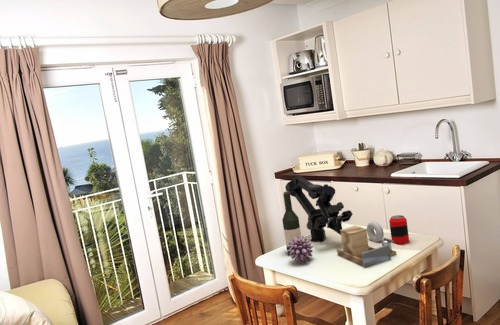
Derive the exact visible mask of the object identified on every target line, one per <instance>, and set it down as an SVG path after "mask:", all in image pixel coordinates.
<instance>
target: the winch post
mask: <svg viewBox="0 0 500 325" xmlns="http://www.w3.org/2000/svg"><path fill="white" fill-rule="evenodd" d="M392 242H393V240H392V239H391V238H387V237H383V239H382V240H381V247H382V246H385V245H389V247H390V255H391V258H392V257H395V256H397V250H396V251H395V250H394V249H393V248H392V244H393V243H392Z"/></svg>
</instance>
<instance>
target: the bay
mask: <svg viewBox="0 0 500 325" xmlns="http://www.w3.org/2000/svg"><path fill="white" fill-rule="evenodd" d="M368 246H369V251H366V252H363V253H362V256H361V257H356V256H354V255H351V254H349V253H347V252H344V251H343V249H340V248H339V249H336V253H337V256H338V257H340V258H342V259H345V260H346V261H349V262H351V263H353V264H355V265H357V266H360V267H362V268H364V269H366V268H369V267H373V266H376V265H378V264H379V265H380V264H382V263H384V262H387V261H391V260H392V257H391V255H390V247H389V245H385V246H382V245H381V246H380V247H379V246H378V247H373V246H370V245H368Z"/></svg>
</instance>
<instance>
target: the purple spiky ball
mask: <svg viewBox="0 0 500 325" xmlns="http://www.w3.org/2000/svg"><path fill="white" fill-rule="evenodd" d="M309 242H310V243H309ZM289 244H290V245H289V247H290V248H289V250H287V249H286V252H287V251H288V252H290V255H289V256H291V255H292V256H291V257H290V258H291V260H295V261H297V263H300V261H301V263H303V262H304V261H305V262H308V259H309V258H310V257H313V248H314V245H313V244H312V242H311V239H308V240H307V237H304V235H301V239H300V238H299V236H298V239H297V238H296V237H294V240H292V243H291V242H289ZM309 260H310V259H309Z"/></svg>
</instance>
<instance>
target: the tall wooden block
mask: <svg viewBox="0 0 500 325" xmlns="http://www.w3.org/2000/svg"><path fill="white" fill-rule="evenodd" d="M340 232H341V235H340V236H341V246H342V251H344V252H347V253H349V254H351V255H354V256H356V257H361V256H362V253H363V252H366V251H369V246H370V245H369V241H368V234H367V228H364V227H361V226H358V225H353V226H349V227H346V228H342V230H340Z"/></svg>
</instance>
